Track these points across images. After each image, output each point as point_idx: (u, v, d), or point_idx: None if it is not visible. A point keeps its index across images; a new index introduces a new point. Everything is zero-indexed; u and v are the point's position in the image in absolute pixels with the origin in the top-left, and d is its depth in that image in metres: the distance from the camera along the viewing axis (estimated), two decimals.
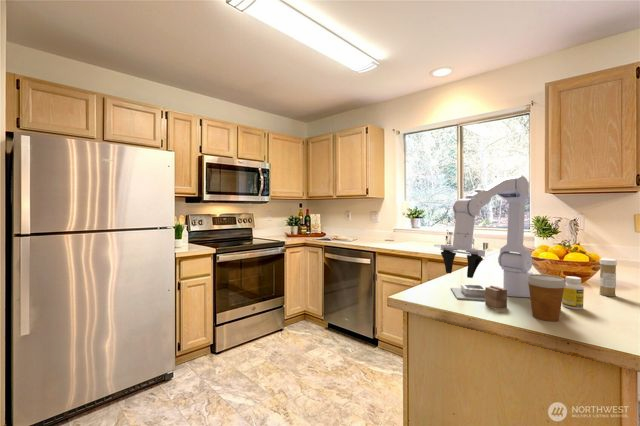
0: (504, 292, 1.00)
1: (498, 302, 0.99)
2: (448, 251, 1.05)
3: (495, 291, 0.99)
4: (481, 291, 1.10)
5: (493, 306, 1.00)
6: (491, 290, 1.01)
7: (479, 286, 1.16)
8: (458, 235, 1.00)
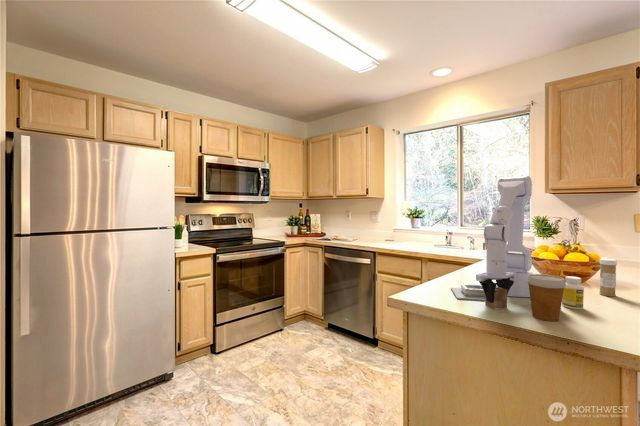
0: (504, 292, 1.00)
1: (498, 302, 0.99)
2: (488, 280, 0.99)
3: (495, 291, 0.99)
4: (481, 291, 1.10)
5: (493, 306, 1.00)
6: None
7: (479, 286, 1.16)
8: (503, 263, 0.99)
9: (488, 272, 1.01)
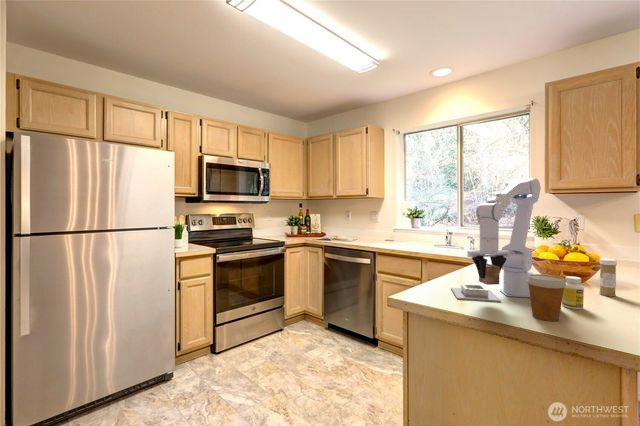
0: (496, 269, 1.03)
1: (490, 279, 1.03)
2: (479, 257, 1.04)
3: (486, 267, 1.03)
4: (481, 291, 1.10)
5: (485, 282, 1.04)
6: None
7: (479, 286, 1.16)
8: (494, 240, 1.02)
9: (480, 249, 1.05)
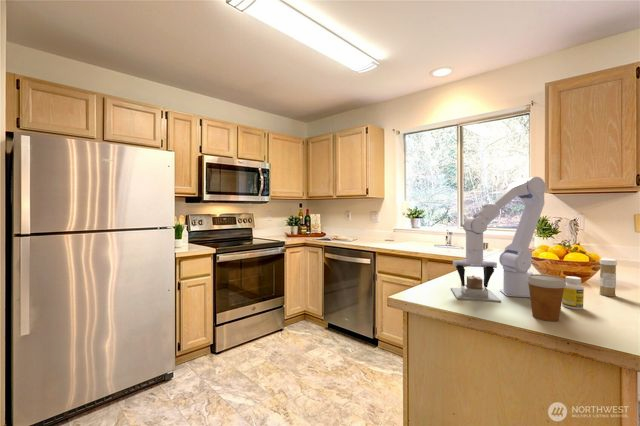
0: (479, 281, 1.11)
1: None
2: (462, 266, 1.14)
3: (469, 279, 1.12)
4: (481, 291, 1.10)
5: None
6: (468, 278, 1.14)
7: None
8: (476, 252, 1.11)
9: None
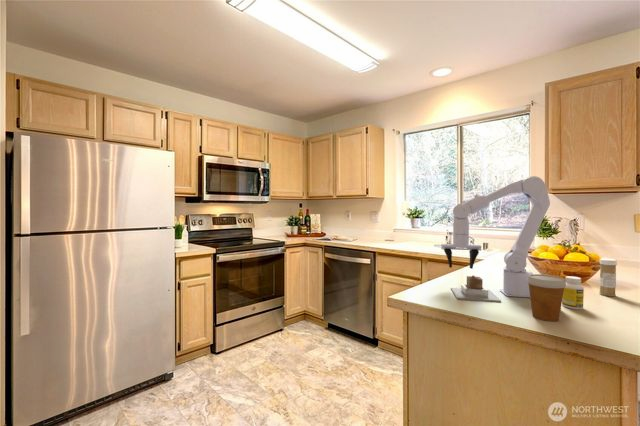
0: (479, 281, 1.11)
1: None
2: (450, 249, 1.24)
3: (469, 279, 1.12)
4: (481, 291, 1.10)
5: None
6: (468, 278, 1.14)
7: None
8: (462, 236, 1.20)
9: (453, 243, 1.24)
